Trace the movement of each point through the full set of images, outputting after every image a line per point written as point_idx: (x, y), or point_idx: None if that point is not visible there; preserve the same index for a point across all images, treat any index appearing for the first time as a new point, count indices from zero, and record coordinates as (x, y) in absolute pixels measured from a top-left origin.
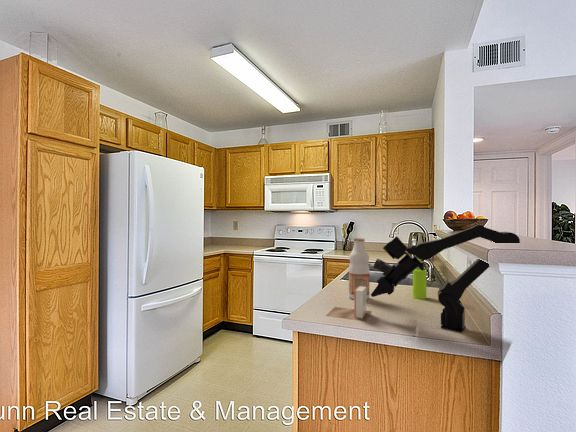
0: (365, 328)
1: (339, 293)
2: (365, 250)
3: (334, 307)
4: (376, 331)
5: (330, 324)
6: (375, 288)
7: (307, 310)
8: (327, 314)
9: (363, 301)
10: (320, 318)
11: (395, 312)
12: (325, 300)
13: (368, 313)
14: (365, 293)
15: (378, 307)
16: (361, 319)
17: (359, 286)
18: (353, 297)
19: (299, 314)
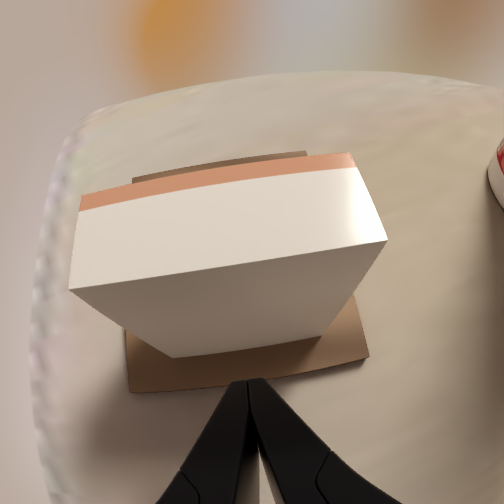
0: (54, 405)
1: (496, 122)
2: None
3: (292, 152)
4: (45, 460)
5: (52, 241)
6: (175, 475)
7: (199, 101)
8: (153, 174)
9: (177, 327)
10: (113, 175)
11: (457, 464)
12: (384, 100)
13: (306, 357)
14: (304, 287)
15: (487, 338)
16: (145, 359)
17: (339, 162)
18: (493, 175)
19: (137, 108)
